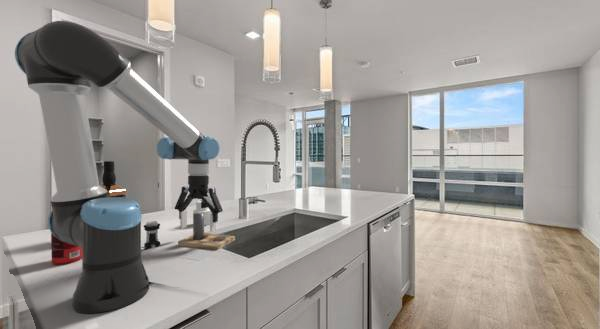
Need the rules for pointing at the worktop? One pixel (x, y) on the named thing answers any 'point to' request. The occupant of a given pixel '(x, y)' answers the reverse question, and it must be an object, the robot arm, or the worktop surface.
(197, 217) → the dark grey cylinder
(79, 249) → the canned food
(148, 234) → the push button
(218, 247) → the socket board
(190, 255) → the deck pad
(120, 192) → the whiskey bottle
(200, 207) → the medicine bottle
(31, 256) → the worktop surface
